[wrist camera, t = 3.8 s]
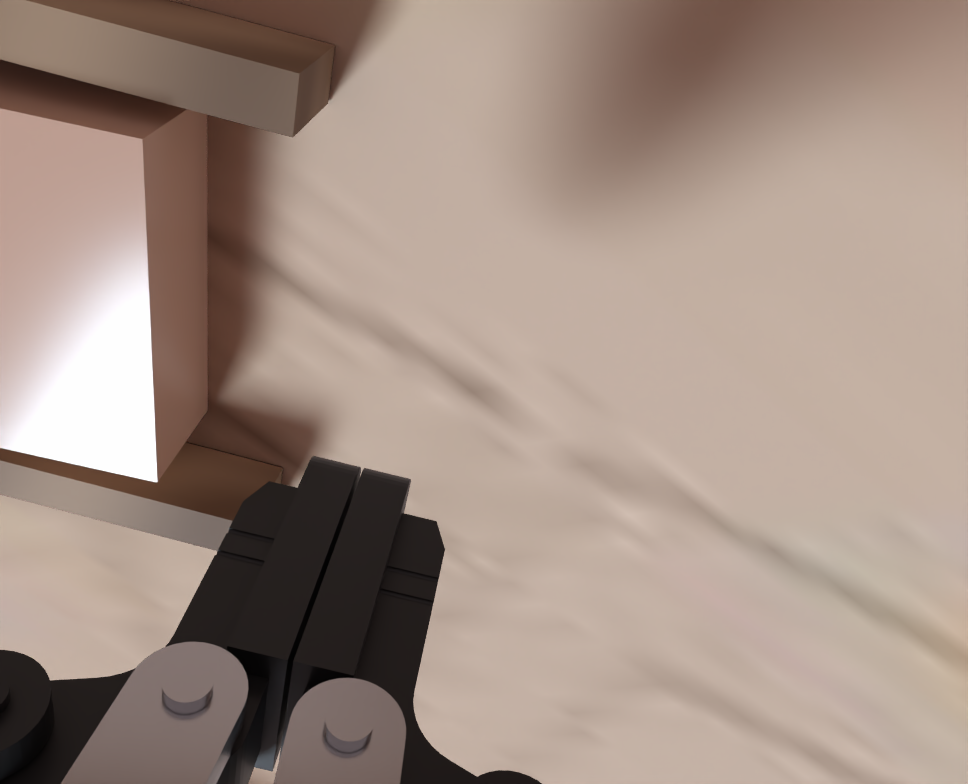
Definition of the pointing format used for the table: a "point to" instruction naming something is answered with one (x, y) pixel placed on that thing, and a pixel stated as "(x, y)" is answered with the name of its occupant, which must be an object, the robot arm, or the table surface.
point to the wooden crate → (194, 86)
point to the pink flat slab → (101, 273)
